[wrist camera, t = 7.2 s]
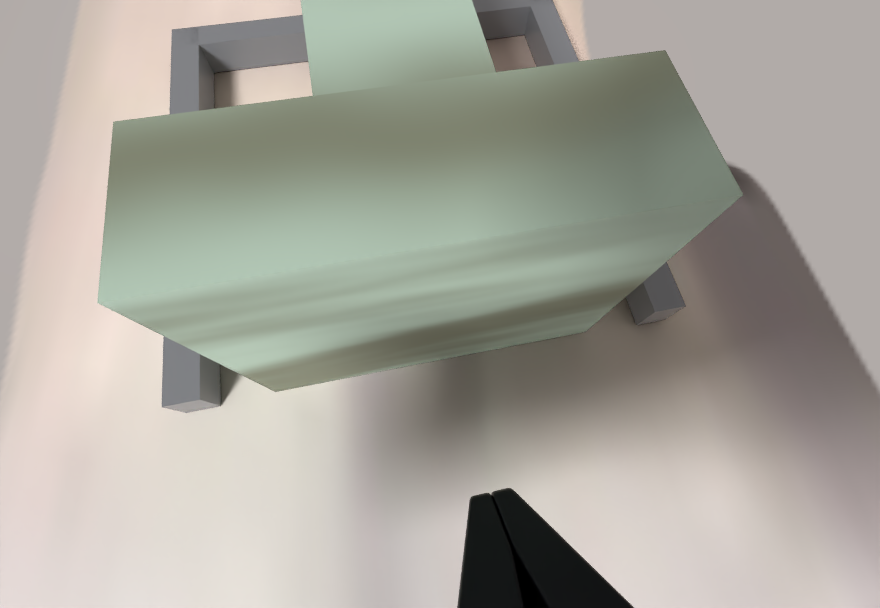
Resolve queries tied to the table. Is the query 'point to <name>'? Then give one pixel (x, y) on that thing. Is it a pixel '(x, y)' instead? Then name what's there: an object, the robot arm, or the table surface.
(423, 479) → the table surface
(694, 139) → the T-block
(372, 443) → the table surface
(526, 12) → the frame
